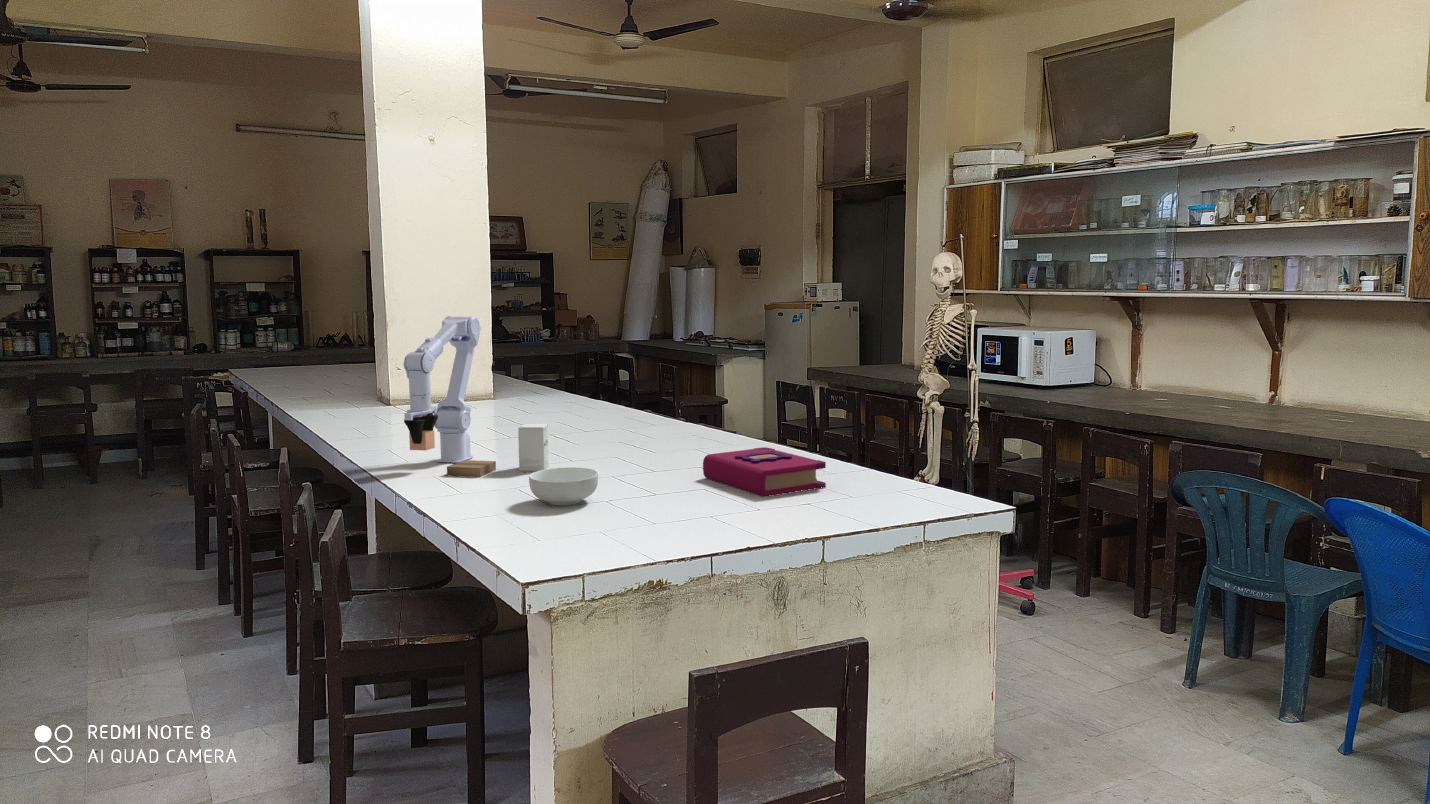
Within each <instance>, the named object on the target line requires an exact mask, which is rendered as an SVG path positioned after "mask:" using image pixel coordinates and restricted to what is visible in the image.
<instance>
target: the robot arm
mask: <svg viewBox="0 0 1430 804" xmlns="http://www.w3.org/2000/svg"><path fill="white" fill-rule="evenodd" d="M479 321H480V320H479V319H478V318H477V317H476V316H475V315H473V316H472V315H470V316H451V315H447V316H445V317H444V319H443V320H442V321H441V328H440V329H439V330H438V332H437V333H436V334H435V336H434V337H426V338H425V339H424V342H423V343H421V345H420V346H418V347H417V348H416V350H414V352H408V354H406V355H405V357H404V361H403V369H404V371H405V372H406V378H407V379H408V388H409V389H408V390H409V393H408V394H409V408H408V409H406V412H405V413H404V417H403V418H404V419H403V421H404V422H403V423H404V424H405V426H406V427H407V430H408V432H410V434H411V437H412V441H413V444H421V442H422V430H429V431H434V428H435V429H436V430H437V432H438V433H439V439H440V440H439V442H440V443H439V444H440V445H439V446H440V447H439V448H440V458H438V459H436V460H435V463H450V462H451V463H453V464H455V463H457V462H460V461H462V460H470V459H472V458H474V455H471V436H470V434H469V432H468V428H469V427H470V426H471V419H472V418H471V410H472V408H471V407H470V406H469V404H468V403H467V402H465V397H466V393H467V388H468V384H469V383H468V382H469V378H470V374H471V368H472V365H473V360H474V355H475V349H476V347H477V346H478V344H479V339H480V334H481V329H482V328H481V325H480V322H479ZM448 342H449V343H450V345H451V346H453V347H454V348H455V350H456V351H455V354H454V355H455V356H454V360H453V365H452V370H451V375H450V379H449V385H448V389H447V393H446V397H445V398H444V399H443V400H441V401H440V402H438V403H437V406H432V398H431V396H432V394H431V377H430V376H431V375H430V374H431V372H432V371H433V369H434V365H435V363H436V360H437V359H438V358H439V357H440V355H442V353H443V352H444V346H445V345H446V344H447V343H448Z"/></svg>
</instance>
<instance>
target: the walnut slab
mask: <svg viewBox="0 0 1430 804" xmlns="http://www.w3.org/2000/svg"><path fill="white" fill-rule="evenodd" d="M495 471H497V463H496V460H474V459H473V460H470V459H468V460H462V461H460V462H457V463H453V464H450V465H448V466H446V476H447V475H453V476H452V477H467V478H468V477H470V478H471V477H472V478H473V477H474V478H482V477H484V476H486V475H488V474H491V473H493V472H495Z"/></svg>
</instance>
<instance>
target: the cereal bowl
mask: <svg viewBox="0 0 1430 804" xmlns="http://www.w3.org/2000/svg"><path fill="white" fill-rule="evenodd" d="M528 483H529V489H530V491H531V493H532V494H533V496H535V497H536V498H537V499H538V500H539V499H540V500H542V501H545V502H547V504H550V505H551V506H552V505H553V506H572V505H577V504H579V503H581V502H582V500H584V499H586V498H587V499H588V497H590V496H592V495H593V494H594V493H595V491H596V489H597V487H598V483H599V474H598V471H596V470H595V469H592V468H586V467H573V466H571V467H567V466H566V467H556V468H546V469H545V470H540V471H533V472H531V473H530V474H529V476H528Z"/></svg>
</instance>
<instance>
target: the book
mask: <svg viewBox="0 0 1430 804" xmlns="http://www.w3.org/2000/svg"><path fill="white" fill-rule="evenodd" d="M826 464H827V463H826V461H823V460H819V459H818V460H817V459H814V458H809V457H804V456H801V455H798V454H793V453H790V452H786V451H781V450H776V449H775V448H771V447H763V446H762V447H755V448H749V449H743V450H733V451H726V452H725V451H724V452H717V453H710V454H709V453H708V454H707V455H705V457H704V458H703V461H702V472H703V476H704V478H705V479H708V480H711V481H714V480H715V481H714V482H717V481H718V482H717V483H720V482H721V484H723V483H724V484H723V485H726V484H727V486H730V487H732V488H736V489H739V488H740V489H739V490H741V491H745V490H746V492H748V491H749V493H751V492H752V494H754V493H755V495H757V494H758V496H761V497H764V496H767V497H770V496H769V495H774V496H778V495H777V494H780V495H783V494H782V493H787V494H790V493H789V492H794V493H796V492H795V491H800V492H802V491H801V490H807V491H809V490H808V489H813V490H815V489H814V488H821V487H825V488H826V487H827V485H826V482H824V481H820V480H818V479H817V470H822V469H827V467H826ZM821 489H822V488H821Z"/></svg>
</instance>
